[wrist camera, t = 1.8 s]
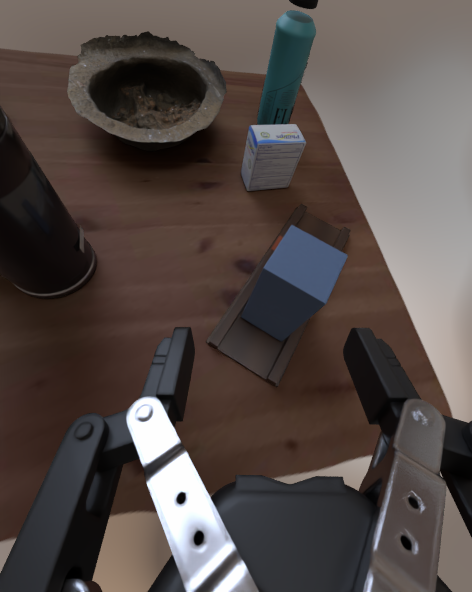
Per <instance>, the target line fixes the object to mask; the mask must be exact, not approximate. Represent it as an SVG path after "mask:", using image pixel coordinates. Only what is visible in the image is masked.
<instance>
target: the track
mask: <svg viewBox="0 0 472 592" xmlns="http://www.w3.org/2000/svg"><path fill="white" fill-rule="evenodd" d="M306 209H307V207H306V206H305V205H303V204H301V205H300V206H299V208H298V207H297V208H296V209H295V211H294V212H293V214H292V215H291V217H290V218H289V220H288V221H287V223H286V224H285V225H284V227H283V228H282V230H281V231H280V233H279V234H278V236H277V237H276V239H275V240H274V242H273V243H272V245H271V246H270V248H269V249H268V251H267V252H266V254H265V255H264V257H263V258H262V260H261V261H260V263H259V264H258V265H257V267H256V268H255V270H254V271H253V273H252V274H251V276H250V277H249V279H248V280H247V282H246V283H245V285H244V286H243V288H242V289H241V291H240V292H239V294H238V295H237V297H236V298H235V300H234V301H233V303H232V304H231V305H230V307H229V308H228V310H227V311H226V313H225V314H224V316H223V317H222V319H221V320H220V322H219V323H218V325H217V326H216V328H215V329H214V331H213V332H212V334H211V335H210V337H209V338H208V340H207V341H206V343H208V344H209V345H211V346H213V347H214V348H216V349H217V350H219V351H220V352H222V353H224V354H225V355H227V356H228V357H230V358H231V359H233V360H235V361H236V362H238V363H239V364H241V365H243V366H244V367H246V368H247V369H249V370H250V371H252V372H254V373H255V374H257V375H258V376H260V377H261V378H263V379H265V380H266V381H268V382H269V383H271V384H272V385H274V386H276V387H278V385H279V383H280V381H281V379H282V376H283V374H284V372H285V370H286V368H287V366H288V364H289V362H290V360H291V357H292V355H293V353H294V351H295V349H296V347H297V345H298V343H299V341H300V339H301V336H302V334H303V332H304V330H305V328H306V326H307V324H308V322H309V320H310V318H309V319H308V320H306V321H305V322H304V323H303V324H302V325H301V326H299V327H298V328H297V329H296V330H295V331H294V332H292V333H291V334H290V335H289V336H288V337H287V338H285V339H284V340H283V341H282V342H281V341H279V340H278V339H276V338H274V337H273V336H271V335H269V334H268V333H266V332H265V331H263V330H261V329H260V328H258V327H256V326H255V325H253V324H251V323H250V322H248V321H247V320H245V319H243V318H242V317H241V316H242V314H243V311H244V309H245V307H246V305H247V303H248V300H249V298H250V296H251V294H252V292H253V289H254V287H255V285H256V283H257V281H258V278H259V276H260V274H261V272H262V270H263V267H264V266H265V264H266V263H267V261H268V260H269V258H270V257H271V255H272V254H273V252H274V251H275V249H276V248H277V246H278V245H279V243H280V242H281V240H282V238H283V237H284V235H285V234H286V232H287V231H288V229H289V228H290V226H291V225H293V226H295V227H297V228H299V229H301V230H302V231H304V232H306V233H308V234H310V235H312V236H313V237H315V238H317V239H319V240H321V241H323V242H324V243H326V244H328V245H330V246H332V247H333V248H335V249H337V250H339V251H341V252H342V250H343V248H344V246H345V244H346V242H347V240H348V237H349V233H350V229H348V228H346V227H343V229H342V230H339V229H337V228H335V227H333V226H332V225H330V224H328V223H326V222H324V221H322V220H320V219H318V218H317V217H315V216H313V215H311V214H309V213H307V212H305V211H306Z"/></svg>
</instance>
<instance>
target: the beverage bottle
mask: <svg viewBox="0 0 472 592" xmlns="http://www.w3.org/2000/svg"><path fill="white" fill-rule="evenodd" d="M289 1H290V2H291V3H293V4H294V5H297V6H299V7H302V8H307V9H314V8H316V6H317V3H318V0H289ZM315 35H316V29H315V25H314V22H313V19H312V18H311V17H310V16H309V15H307V14H305V13H302V12H299V11H292V10H290V11H287V12H286V13H284V14H283V15H282V16H281V17H280V18H279V19H278V20H277V23H276V30H275V35H274V40H273V45H272V50H271V55H270V60H269V65H268V70H267V75H266V79H265V83H264V88H263V89H262V90H263V93H262V94H261V96H262V98H261V102H260V108H259V111H258V112H259V113H258V114H257V115H258V118H257V121H258V125H281V124H283V125H285V124H288V123H289V121H290V117H291V114H292V112H293V111H292V109H294V107H293V106H295V105H294V104H295V99H296V96H297V94H298V90H299V86H300V83H301V80H302V77H303V73H304V70H305V67H306V66H307V60H308V57H309V53H310V50H311V46H312V43H313V40H314V37H315Z"/></svg>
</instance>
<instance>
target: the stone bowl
mask: <svg viewBox="0 0 472 592" xmlns="http://www.w3.org/2000/svg"><path fill="white" fill-rule="evenodd" d="M81 49H82V50H81V54H80V55H78V61H79V63H78V64H77V65H75V66H72V67H71V68H70V73H69V79H68V80H69V85H68V90H67V93H68V96H69V99H71V103H72V105H73V106H74V107H75V111H76V112H77V113H78V115H80V116H82V117H84V118H88V120H89V121H91V122H93V123H94V124H95V125H97V126H99V127H101V128H103V129H104V130H106V131H107V132H109V133H111V134H115V136H116V137H117V138H119V139H120V140H121V141H122V142H123V143H125V144H128V145H133V146H135V147H137V148H140V149H143V150H147V151H156V150H159V149H164V148H169V147H174V146H177V145H179V144H181V143H182V142H184V141H185V140H186V139H188V138H189V137H190V136H191V135H192V134H193V133H194V132H196V131H198V130H201V129H206V128H207V127H208V126H209V125H210V123H211V122H212V121H213V119H214V118H215V117H216V115H217V114H218V113H219V111H220V106H221V104H222V101H223V100H224V99H223V96H224V94H225V93H226V92H227V91H226V82H225V80H224V79H223V76H222V75H221V72H220V69H219V68H218V66H216V65H215V62H214V61H210V62H209V61H206V60H205V59H198V58H197V57H196V56H194V55H195V53H194V52H193V51H191V50H190V49H189V48H187V47H185V46H183V45H179V44H178V42H177V41H170V40H169V38H168V37H166V38H160V37H157V36H153V35H152V34H151V33H150V32H144V33H141V34H140V35H139V36H138V37H137V35H135V36H127V35H123V36H122V38H120V36H108V35H106V36H105V37H99V38H93V39H92V40H89V41H88V42H86V43H84V44H82V45H81Z"/></svg>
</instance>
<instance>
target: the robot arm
mask: <svg viewBox="0 0 472 592" xmlns="http://www.w3.org/2000/svg"><path fill="white" fill-rule="evenodd" d="M96 262H97V260H96V255H95V252H94V250H93V248H92V247H91V245H90V244H89V243H88V241H87V240H86V239H85V237H84V231H83V229H82V227H81V226H80V229H79V228H78V226H77V225H76V223H75V222H74V220H73V218H72V217H71V215H70V214H69V212H68V211H67V209H66V207H65V206H64V204H63V203H62V201H61V200H60V198H59V196H58V195H57V193H56V192H55V190H54V189H53V187H52V185H51V184H50V182H49V181H48V179H47V178H46V176H45V174H44V173H43V171H42V170H41V168H40V167H39V165H38V163H37V162H36V160H35V159H34V157H33V156H32V154H31V152H30V151H29V150H28V148H27V147H26V145H25V143H24V142H23V140H22V139H21V137H20V136H19V134H18V132H17V131H16V129H15V128H14V126H13V125H12V123H11V122H10V120H9V118H8V117H7V115H6V114H5V112H4V111H3V109H2V107H1V106H0V274H1V275H2V276H3V277H5V278H6V279H8V280H9V281H11V282H12V283H13V284H14V285H15V286H16V287H17V288H19V289H20V290H22V291H23V292H24V293H26V294H28V295H30V296H33V297H37V298H44V299H51V298H58V297H62V296H65V295H68V294H71V293H73V292H75V291H76V290H78V289H80V288H81V287H82V286H83V285H85V284H86V283H87V282H88V281H89V279H90V278H91V277H92V275H93V273H94V271H95V268H96ZM343 355H344V360H345V362H346V365H347V367H348V370H349V373H350V375H351V378H352V380H353V383H354V386H355V388H356V391H357V393H358V396H359V398H360V401H361V404H362V406H363V409H364V411H365V414H366V416H367V419H368V422H369V424H376V425H380V428H381V430H382V431H381V432H380V435H379V438H378V441H377V444H376V447H375V450H374V453H373V457H372V460H371V463H370V466H369V469H368V472H367V474H366V476H365V477H364V479H363V481H362V484H361V486H360V488H359V491H357V490H355V489H354V488H352V487H350V486H347V485H345V484H344V481H343V477H325V476H316V477H312V478H309V479H306V480H303V481H300V482H297V483H294V484H286V483H283V482H280V481H277V480H274V479H271V478H268V477H265V476H262V475H236V481H235V482H232V483H229V484H227V485H225V486H223V487H222V488H220V489H219V490H218V491H217V492H215V493H214V494H213V495H212V496H211V498H210V496H209V494H208V492H207V490H206V488H205V487H204V485H203V483H202V481H201V479H200V477H199V475H198V473H197V471H196V469H195V467H194V465H193V463H192V461H191V459H190V457H189V455H188V453H187V452H186V450H185V448H184V446H183V445H182V443H181V441H180V439H179V437H178V435H177V433H176V431H175V424H176V421H183V417H184V412H185V406H186V401H187V395H188V390H189V384H190V379H191V373H192V368H193V362H194V356H195V347H194V341H193V336H192V331H191V328H190V327H175V329H174V332H173V335H172V338H164V339H163V340H162V341H161V343H160V344H159V345H158V346H157V349H156V352H155V355H154V358H153V361H152V365H151V367H150V370H149V373H148V376H147V379H146V382H145V385H144V388H143V391H142V394H141V396H140V398H139V399H138V400H137V401H136V402H135V403H134V404H133V405H132V406H131V407H130V408H129V409H127V410H125V411H122V412H119V413H116V414H113V415H110V416H107V417H102V416H101V415H99V414H97V413H89V414H85V415H83V416H81V417H79V418H78V419H77V420H75V421H74V422H73V423H72V424H71V425H70V427H69V428H68V430H67V431H66V433H65V436H64V438H63V440H62V442H61V444H60V446H59V448H58V451H57V453H56V455H55V457H54V459H53V461H52V464H51V466H50V468H49V470H48V472H47V474H46V476H45V479H44V481H43V483H42V485H41V487H40V489H39V491H38V494H37V496H36V498H35V500H34V502H33V504H32V506H31V509H30V511H29V513H28V515H27V517H26V519H25V522H24V524H23V526H22V528H21V530H20V532H19V534H18V537H17V539H16V541H15V543H14V545H13V547H12V549H11V552H10V554H9V556H8V558H7V560H6V563H5V564H4V567H3V569H2V571H1V573H0V592H102V590H101V588H100V586H99V585H98V584H97V583H96V582H94V581H92V578H93V574H94V571H95V567H96V563H97V560H98V555H99V552H100V548H101V544H102V541H103V538H104V534H105V530H106V526H107V523H108V519H109V515H110V512H111V508H112V504H113V500H114V497H115V493H116V489H117V486H118V482H119V478H120V475H121V471H122V467H123V464H125V463H128V462H131V461H133V460H136V459H139V458H140V460H141V462H142V465H143V468H144V476H145V479H146V482H147V485H148V488H149V491H150V493H151V496H152V499H153V502H154V504H155V507H156V510H157V513H158V515H159V518H160V521H161V523H162V526H163V529H164V531H165V534H166V537H167V540H168V543H169V545H170V548H171V550H172V556H171V557H170V559H169V560H168V562H167V563H166V565H165V566H164V568H163V569H162V571H161V572H160V574H159V575H158V577H157V578H156V580H155V581H154V583H153V585H152V586H151V588H150V589H149V590H148V592H452V591H451V590H450V589H449V588H448V587H447V585H446V584H445V583H444V582H443V581H442V580H441V579H440V578H439V576H438V575H437V570H438V562H439V553H440V543H441V534H442V525H443V516H444V507H445V496H446V485H447V487H448V489H449V491H450V493H451V495H452V497H453V499H454V501H455V503H456V505H457V508H458V510H459V512H460V514H461V516H462V518H463V520H464V522H465V525H466V527H467V529H468V531H469V533H470V535H471V537H472V421H471V422H469V423H467V422H464V421H460V420H457V419H454V418H450V417H447V416H444V415H441V414H440V412H439V411H438V410H437V409H436V408H435V407H433V406H432V405H431V404H429V403H427V402H425V401H423V400H422V399H421V398H420V397H419V395H418V393H417V392H416V390H415V388H414V387H413V385H412V383H411V381H410V380H409V378H408V376H407V375H406V373H405V371H404V370H403V368H402V367H401V364H400V363H399V361H398V359H396V356H395V354H394V353H393V351H392V349H391V347H390V346H388V345H387V344H386V343H385V342H384V341H383V340H382V339H376V337H375V336H374V334H373V332H372V330H371V329H370V328H352V329H351V331H350V333H349V336H348V338H347V341H346V343H345V346H344V349H343ZM440 472H441V474H442V476H443V478H442V477H441V476H440Z"/></svg>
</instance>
